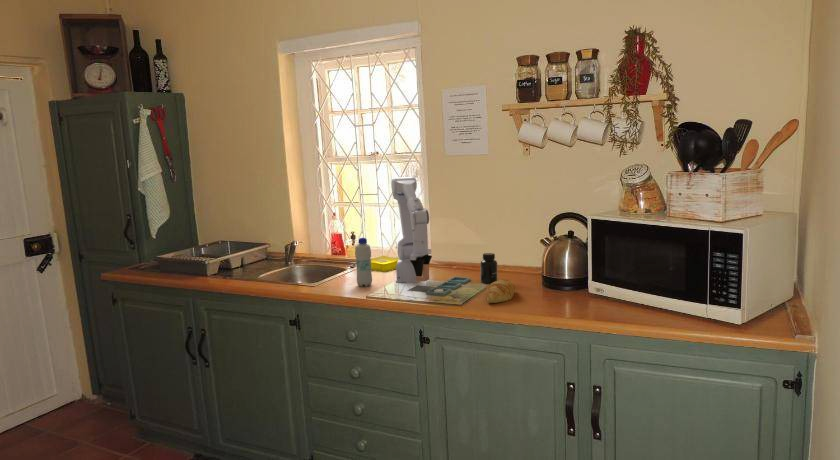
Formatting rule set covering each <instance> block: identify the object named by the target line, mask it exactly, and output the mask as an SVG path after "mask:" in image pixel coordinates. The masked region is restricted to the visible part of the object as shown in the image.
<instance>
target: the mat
mask: <svg viewBox="0 0 840 460" xmlns="http://www.w3.org/2000/svg"><path fill="white" fill-rule="evenodd" d="M432 288H437V286H431V285H430V286H428V285H414V286H413V287H411V288H409V289H407V292H419V293H426V292H427V291H429V290H430V289H432Z"/></svg>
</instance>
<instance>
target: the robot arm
mask: <svg viewBox="0 0 840 460" xmlns="http://www.w3.org/2000/svg"><path fill="white" fill-rule="evenodd" d="M390 183H391V192H392V193H391V194H392V196H393V199H394V200H396V201H397V204H398V210H399V218H400V224H401V233H402V238H401V239H399V240H398V243H397V258H399V259H400V260H399V261H398V262H397V265H396V269H395V270H396V272H395V274H396V280H395V282H396V283H402V284H403V283H406V284H407V283H408V284H417V283H419V282H420V281H416V276H419V277H421V276H422V271H423V264H429V265H430V262H431V260H432V258H433V256H432V249H431V248H429V239H428V238H429V237H428V234H429V233H428V225H429V223H430V216H429V215H430V214H429V210H428V209H427V208H424V206H423V204H422V201H421V199H420V198H419V197H417V194H416V191H417V188H418V184H417V179H416V177H415V176H408V177H393V178H392V179H391V182H390Z"/></svg>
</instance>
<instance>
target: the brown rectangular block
mask: <svg viewBox="0 0 840 460" xmlns="http://www.w3.org/2000/svg"><path fill="white" fill-rule="evenodd" d="M429 280H430V263H429V264H423V271H422V276H421V277H419V276H416V281H419V282H423V283H424V282H427V281H429Z"/></svg>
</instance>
